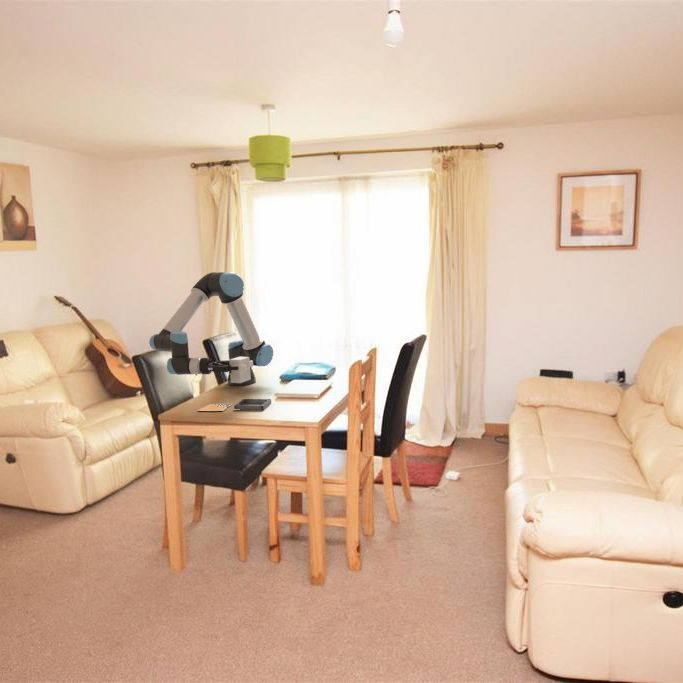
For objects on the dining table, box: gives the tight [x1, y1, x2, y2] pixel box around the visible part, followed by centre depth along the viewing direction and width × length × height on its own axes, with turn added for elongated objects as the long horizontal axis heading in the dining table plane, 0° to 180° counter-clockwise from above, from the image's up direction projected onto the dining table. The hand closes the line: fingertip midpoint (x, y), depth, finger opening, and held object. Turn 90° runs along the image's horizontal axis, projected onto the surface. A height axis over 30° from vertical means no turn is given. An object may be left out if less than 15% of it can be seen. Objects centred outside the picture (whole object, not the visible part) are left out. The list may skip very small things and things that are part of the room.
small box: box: [228, 357, 251, 383], centre depth 258 cm, size 8×6×10 cm
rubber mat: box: [215, 402, 232, 408], centre depth 260 cm, size 12×12×1 cm
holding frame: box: [233, 398, 272, 411], centre depth 260 cm, size 12×13×2 cm
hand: (249, 365), depth 257 cm, fingers closed on small box, 9 cm apart
